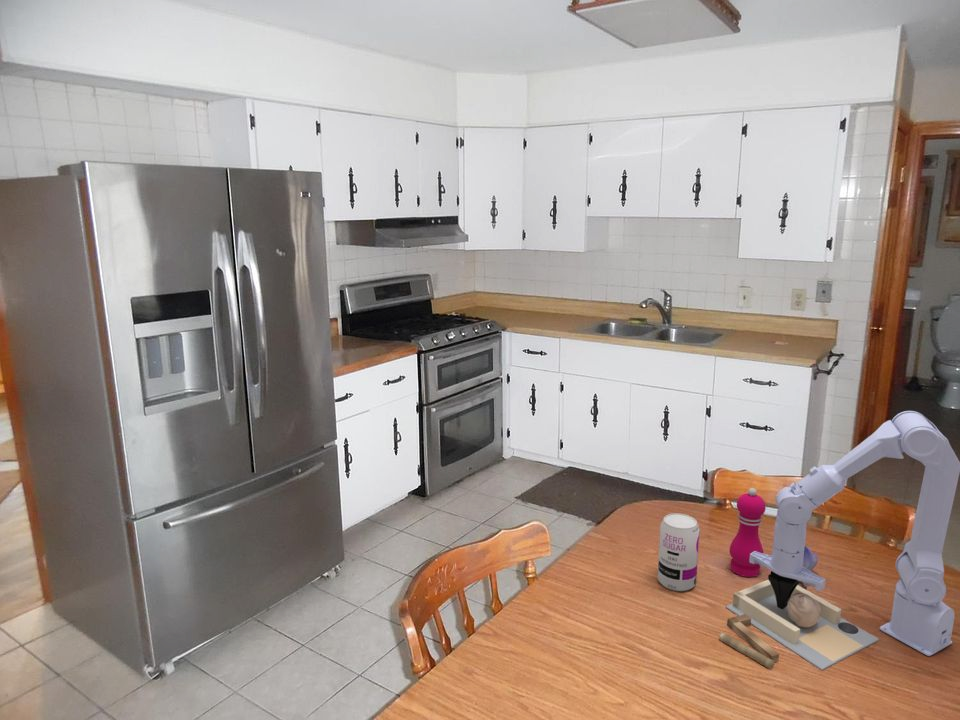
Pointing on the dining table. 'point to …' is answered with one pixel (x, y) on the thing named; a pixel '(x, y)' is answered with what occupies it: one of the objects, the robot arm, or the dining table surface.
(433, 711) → the dining table surface
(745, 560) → the pepper mill
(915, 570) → the robot arm
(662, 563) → the supplement can
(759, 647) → the crook tool
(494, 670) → the dining table surface
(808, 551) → the flower
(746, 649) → the straight stick
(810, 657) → the cubby board
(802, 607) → the garlic bulb
